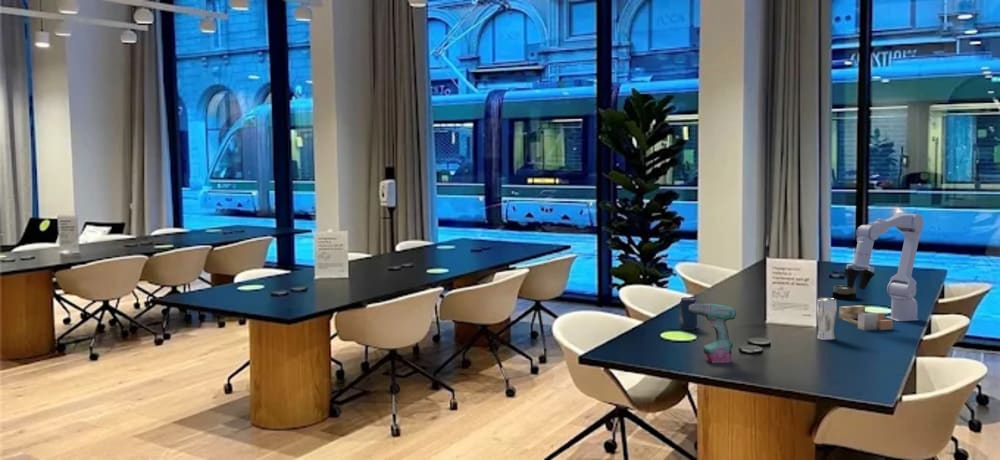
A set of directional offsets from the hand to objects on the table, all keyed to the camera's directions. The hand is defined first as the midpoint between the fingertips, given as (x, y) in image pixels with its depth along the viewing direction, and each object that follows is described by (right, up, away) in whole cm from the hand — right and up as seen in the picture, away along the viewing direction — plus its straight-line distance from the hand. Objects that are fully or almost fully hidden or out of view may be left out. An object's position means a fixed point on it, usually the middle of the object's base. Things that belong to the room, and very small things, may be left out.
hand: (855, 288), depth 316 cm
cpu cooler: (+22, -10, +62) cm, 67 cm away
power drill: (-68, -22, -42) cm, 83 cm away
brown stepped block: (+10, -16, +1) cm, 19 cm away
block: (+4, -16, 0) cm, 17 cm away
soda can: (-65, -17, +7) cm, 67 cm away
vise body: (+8, -15, +13) cm, 21 cm away
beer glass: (-18, -18, -14) cm, 29 cm away
